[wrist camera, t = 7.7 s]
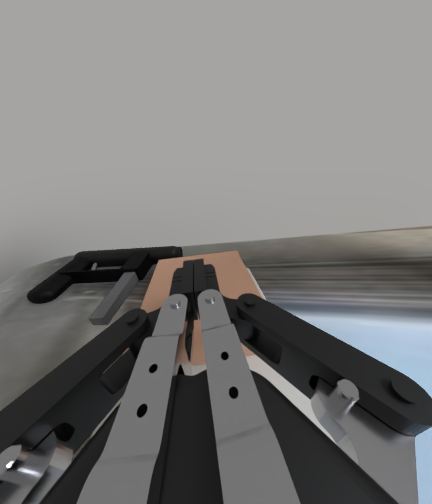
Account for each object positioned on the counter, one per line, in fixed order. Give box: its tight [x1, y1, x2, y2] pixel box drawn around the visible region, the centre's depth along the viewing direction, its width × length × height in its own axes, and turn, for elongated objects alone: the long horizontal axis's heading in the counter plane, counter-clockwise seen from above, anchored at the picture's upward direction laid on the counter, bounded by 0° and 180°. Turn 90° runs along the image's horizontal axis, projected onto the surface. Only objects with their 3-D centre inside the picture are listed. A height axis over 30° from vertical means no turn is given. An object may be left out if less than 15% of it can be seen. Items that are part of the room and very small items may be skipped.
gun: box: [27, 246, 182, 325], centre depth 24 cm, size 3×20×16 cm
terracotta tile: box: [123, 250, 262, 366], centre depth 18 cm, size 12×2×14 cm
